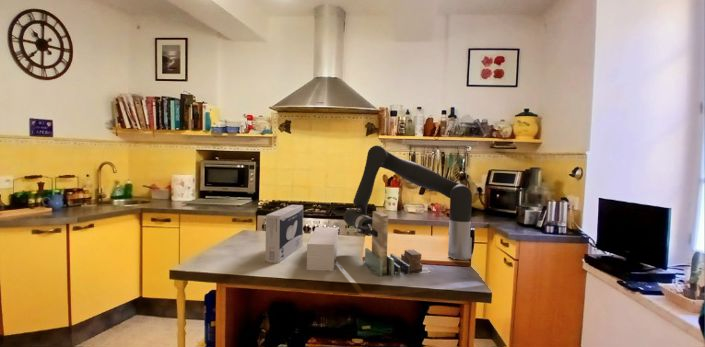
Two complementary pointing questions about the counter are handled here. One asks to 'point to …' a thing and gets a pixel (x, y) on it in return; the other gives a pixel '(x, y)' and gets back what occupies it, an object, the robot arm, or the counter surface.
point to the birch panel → (380, 237)
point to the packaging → (283, 232)
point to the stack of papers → (322, 249)
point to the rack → (389, 265)
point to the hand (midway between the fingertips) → (380, 234)
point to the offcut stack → (412, 259)
